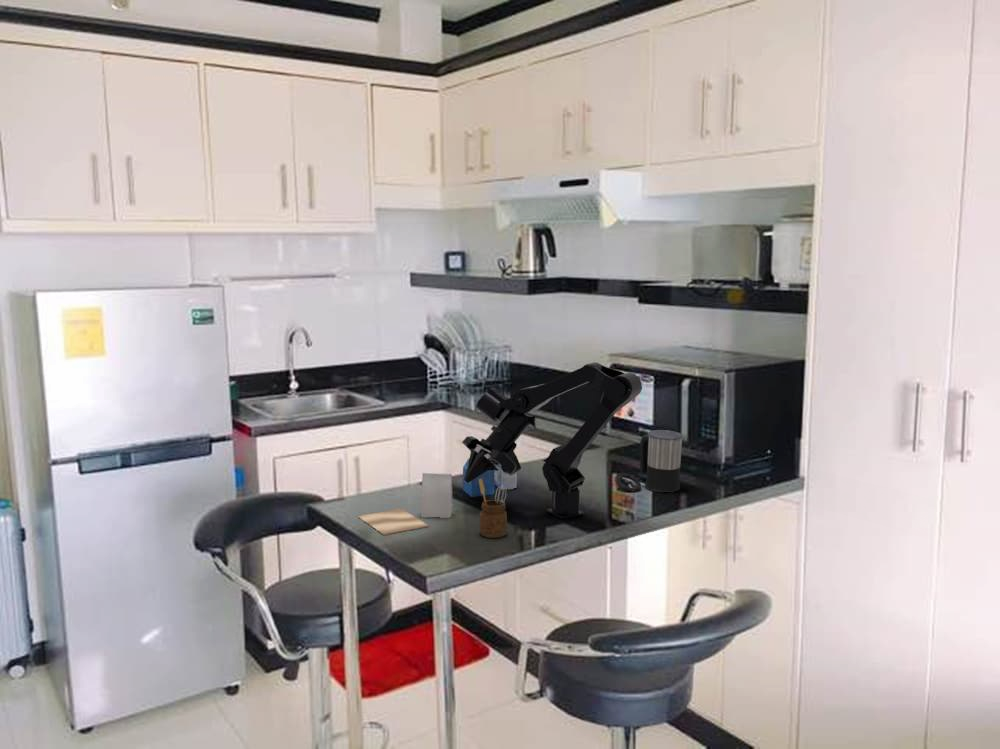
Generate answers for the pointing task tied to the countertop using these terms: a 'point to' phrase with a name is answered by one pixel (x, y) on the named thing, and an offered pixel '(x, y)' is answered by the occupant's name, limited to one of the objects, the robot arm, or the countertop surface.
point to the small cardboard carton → (436, 495)
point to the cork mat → (393, 521)
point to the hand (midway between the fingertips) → (465, 481)
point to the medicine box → (505, 479)
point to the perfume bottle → (474, 486)
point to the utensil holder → (492, 516)
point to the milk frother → (657, 462)
